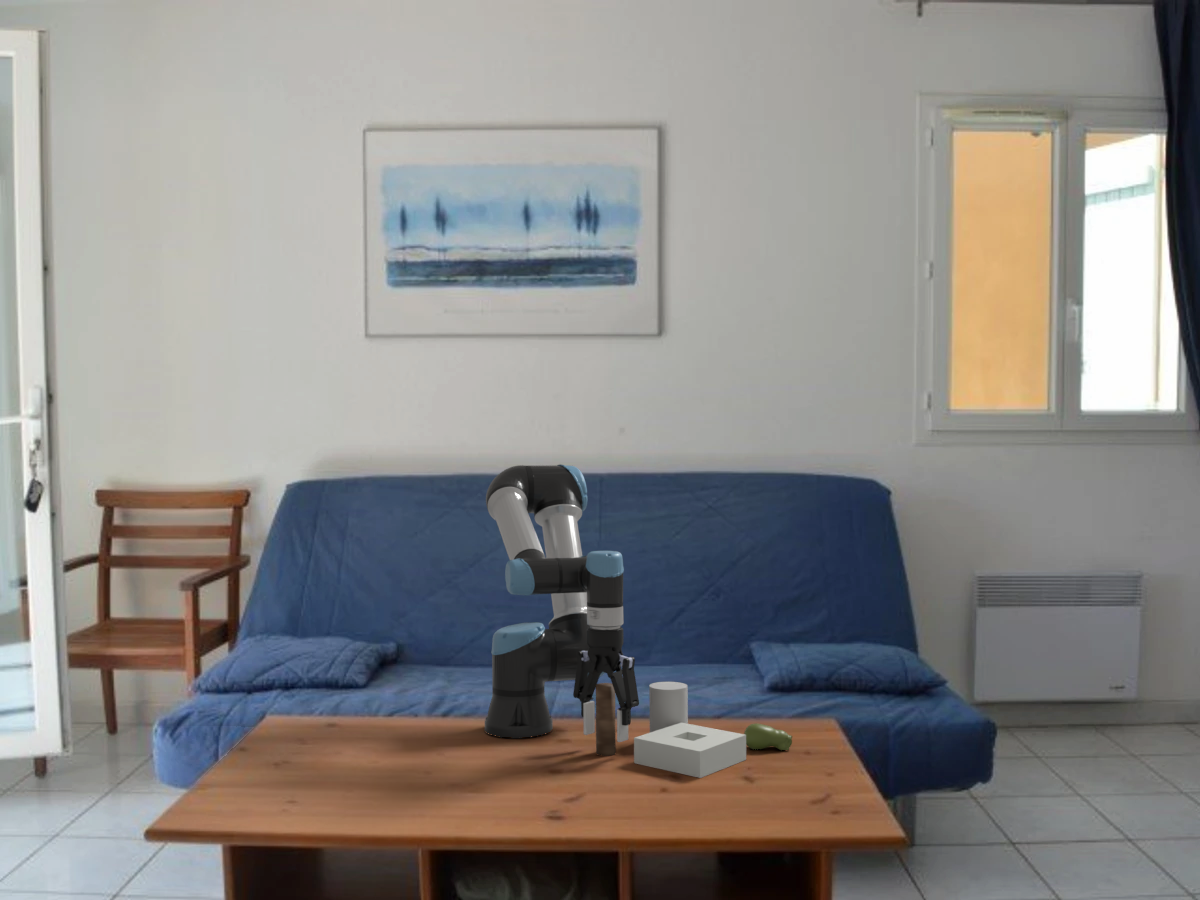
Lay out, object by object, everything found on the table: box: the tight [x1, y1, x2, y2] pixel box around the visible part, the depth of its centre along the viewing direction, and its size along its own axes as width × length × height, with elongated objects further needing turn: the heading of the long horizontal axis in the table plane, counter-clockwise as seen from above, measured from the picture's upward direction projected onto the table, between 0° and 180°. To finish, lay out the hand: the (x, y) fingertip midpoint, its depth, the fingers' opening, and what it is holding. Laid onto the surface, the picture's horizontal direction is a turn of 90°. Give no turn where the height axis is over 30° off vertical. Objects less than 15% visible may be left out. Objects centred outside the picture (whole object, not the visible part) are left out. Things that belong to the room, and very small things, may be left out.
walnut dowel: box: [595, 682, 617, 757], centre depth 224 cm, size 4×4×14 cm
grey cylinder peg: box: [648, 681, 689, 733], centre depth 233 cm, size 8×8×12 cm
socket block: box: [633, 723, 747, 779], centre depth 218 cm, size 16×16×5 cm
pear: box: [743, 723, 793, 751], centre depth 227 cm, size 6×5×10 cm
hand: (605, 736), depth 224 cm, fingers open, 8 cm apart
